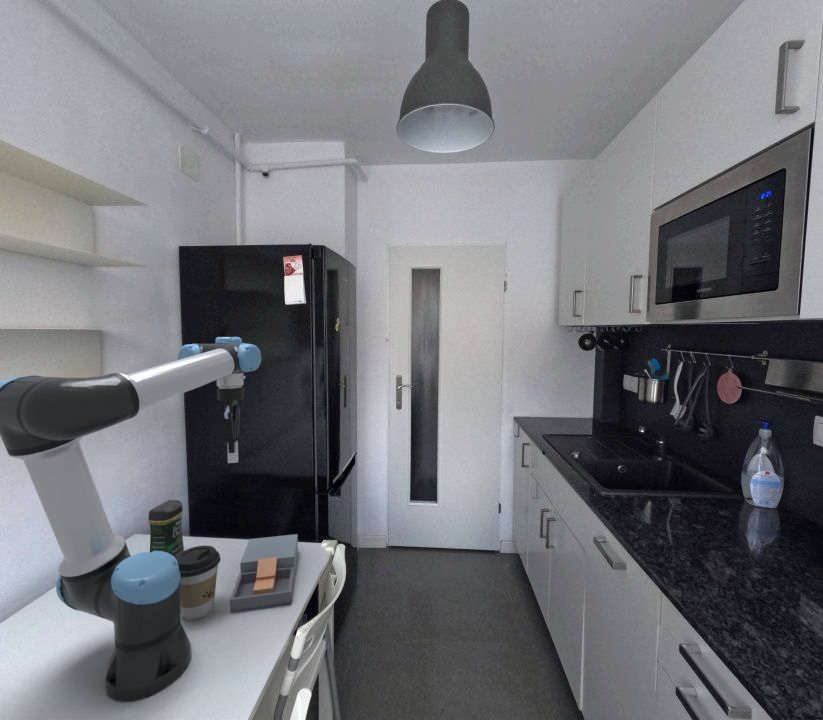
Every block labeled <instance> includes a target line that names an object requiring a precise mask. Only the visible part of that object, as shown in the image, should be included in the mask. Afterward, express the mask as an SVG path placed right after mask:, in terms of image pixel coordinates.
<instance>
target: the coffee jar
mask: <svg viewBox="0 0 823 720" xmlns="http://www.w3.org/2000/svg"><path fill="white" fill-rule="evenodd" d="M183 513H184V510H183V502H182V501H180V500H179V499H168V500H166V501H164V502H163V503H160V504H158V505H157V506H155V507H154V508H152V509H150V510H149V511H148V517H147V518H148V523H149V533H150V535H149V537H150V539H149V553H151V552H153V551H163V552H167V553H169V554H171V555H173V556H174V557H175V558H176V557H177V556H178V555H179V554H180V553H182V552H183V551H185V548H184V547H185V546H184V537H183V527H182V519H183Z"/></svg>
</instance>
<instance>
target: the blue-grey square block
mask: <svg viewBox="0 0 823 720" xmlns="http://www.w3.org/2000/svg"><path fill="white" fill-rule="evenodd" d="M248 539H249V538H248ZM298 540H299V538H298V533H294V534H287V535H285V534H284V535H277V536H270V537H269V536H267V537H257V538H250V539H249V540H248V542H247V545H246V547H245V550H244V553H243V555H242V557H241V560H240V562H239V563H240V564H239V565H240V568H239V569H240V571H239V572H240V573H246V572H255V571H257V567H258V559H266V558H274V557H277V569H279V568H287V567H294V577H295V576H296V570H297V560H298V554H299V553H298V552H299V550H298V549H299V541H298Z"/></svg>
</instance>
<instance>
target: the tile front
mask: <svg viewBox="0 0 823 720" xmlns="http://www.w3.org/2000/svg"><path fill="white" fill-rule="evenodd" d="M274 589H275V577H272V578H263V579H256V582H255V585H254V589H253V595H258V594H265V593H272V592H274Z"/></svg>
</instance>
